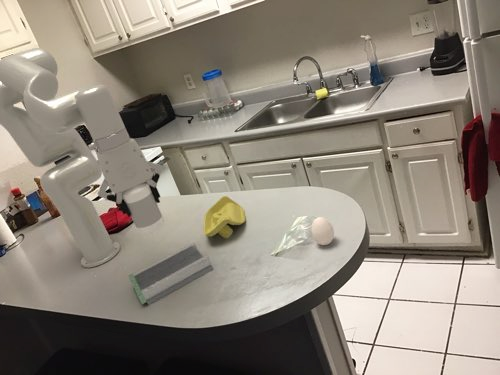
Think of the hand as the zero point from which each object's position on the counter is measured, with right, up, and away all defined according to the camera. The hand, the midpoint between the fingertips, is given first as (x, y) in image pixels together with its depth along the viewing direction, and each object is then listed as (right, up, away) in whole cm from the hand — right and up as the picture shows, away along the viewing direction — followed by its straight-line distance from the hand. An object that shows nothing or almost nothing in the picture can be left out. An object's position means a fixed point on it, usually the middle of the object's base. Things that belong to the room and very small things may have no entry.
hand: (143, 207), depth 105 cm
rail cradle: (+6, -18, +8) cm, 21 cm away
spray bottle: (+2, -5, +2) cm, 6 cm away
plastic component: (+19, -8, +25) cm, 32 cm away
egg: (+44, -9, +1) cm, 45 cm away
